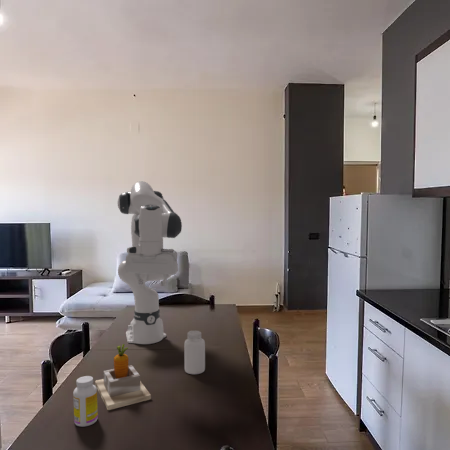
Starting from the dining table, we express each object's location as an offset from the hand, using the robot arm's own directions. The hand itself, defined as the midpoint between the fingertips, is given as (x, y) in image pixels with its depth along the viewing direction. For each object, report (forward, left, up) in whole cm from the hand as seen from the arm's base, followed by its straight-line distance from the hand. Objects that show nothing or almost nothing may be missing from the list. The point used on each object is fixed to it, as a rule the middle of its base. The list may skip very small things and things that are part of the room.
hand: (151, 285), depth 146 cm
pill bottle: (+5, +15, -34) cm, 38 cm away
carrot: (+8, -14, -33) cm, 36 cm away
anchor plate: (+8, -14, -34) cm, 38 cm away
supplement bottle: (+21, -28, -34) cm, 49 cm away
